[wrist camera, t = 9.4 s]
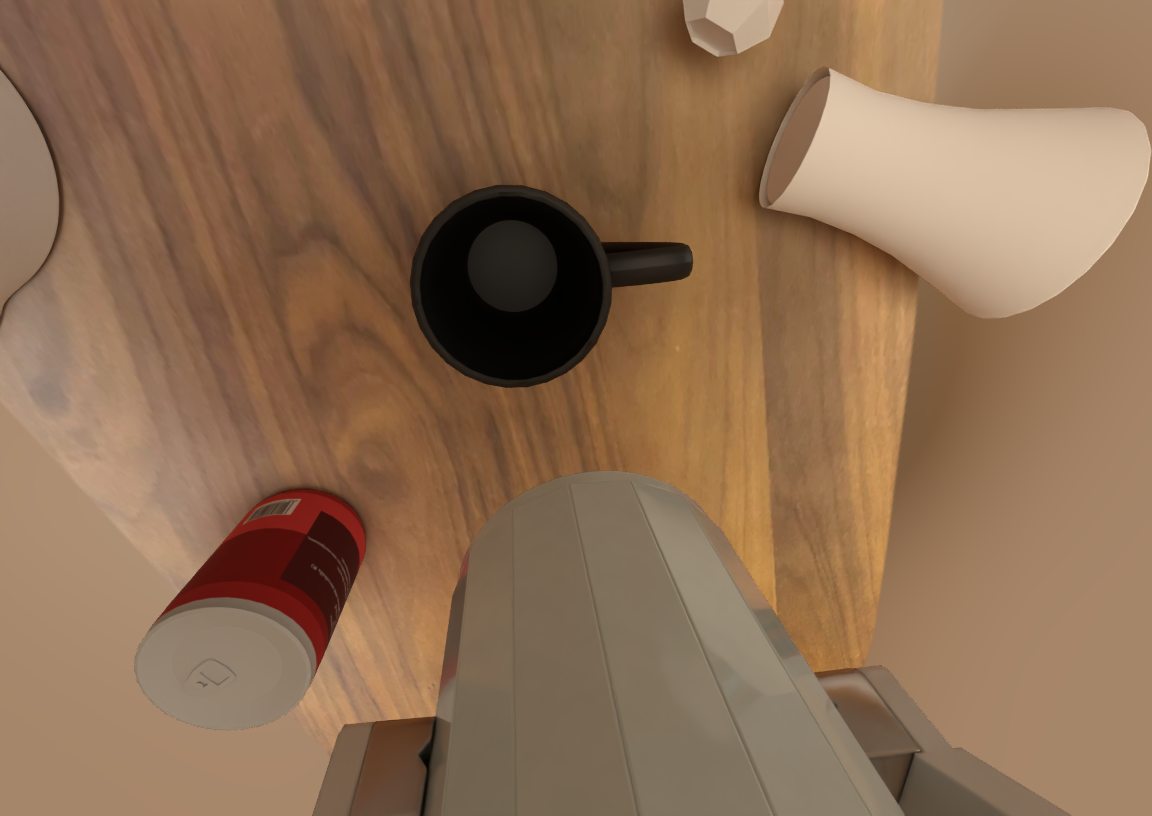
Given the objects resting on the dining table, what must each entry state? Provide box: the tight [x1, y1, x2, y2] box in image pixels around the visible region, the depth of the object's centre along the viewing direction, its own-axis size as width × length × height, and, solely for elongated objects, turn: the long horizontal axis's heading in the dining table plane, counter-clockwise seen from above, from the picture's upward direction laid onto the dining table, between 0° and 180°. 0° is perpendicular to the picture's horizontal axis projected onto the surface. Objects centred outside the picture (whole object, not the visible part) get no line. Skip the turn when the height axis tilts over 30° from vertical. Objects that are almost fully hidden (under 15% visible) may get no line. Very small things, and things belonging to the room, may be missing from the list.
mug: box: [410, 185, 693, 388], centre depth 26 cm, size 8×12×10 cm
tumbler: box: [422, 471, 905, 816], centre depth 8 cm, size 6×6×9 cm
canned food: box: [134, 489, 366, 730], centre depth 30 cm, size 8×8×11 cm
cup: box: [759, 66, 1151, 318], centre depth 27 cm, size 10×10×14 cm
